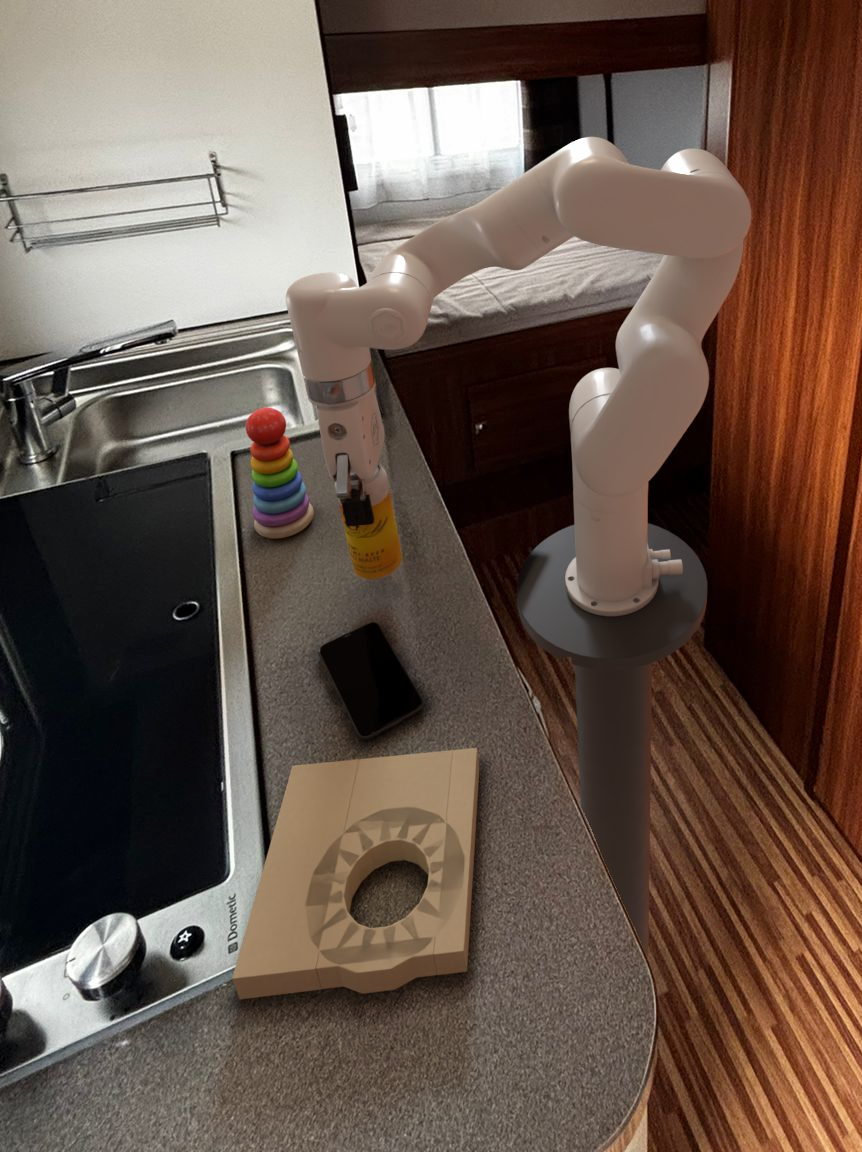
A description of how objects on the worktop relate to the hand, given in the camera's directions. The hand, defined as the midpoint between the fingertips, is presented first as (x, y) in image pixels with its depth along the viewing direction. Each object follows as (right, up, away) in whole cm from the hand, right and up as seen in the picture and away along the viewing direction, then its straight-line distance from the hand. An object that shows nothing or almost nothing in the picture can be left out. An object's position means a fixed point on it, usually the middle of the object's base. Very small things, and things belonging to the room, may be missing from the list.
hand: (365, 504), depth 100 cm
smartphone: (+3, -18, -8) cm, 20 cm away
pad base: (+9, -27, -26) cm, 39 cm away
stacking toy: (-17, -7, +17) cm, 25 cm away
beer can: (0, -9, +4) cm, 10 cm away
